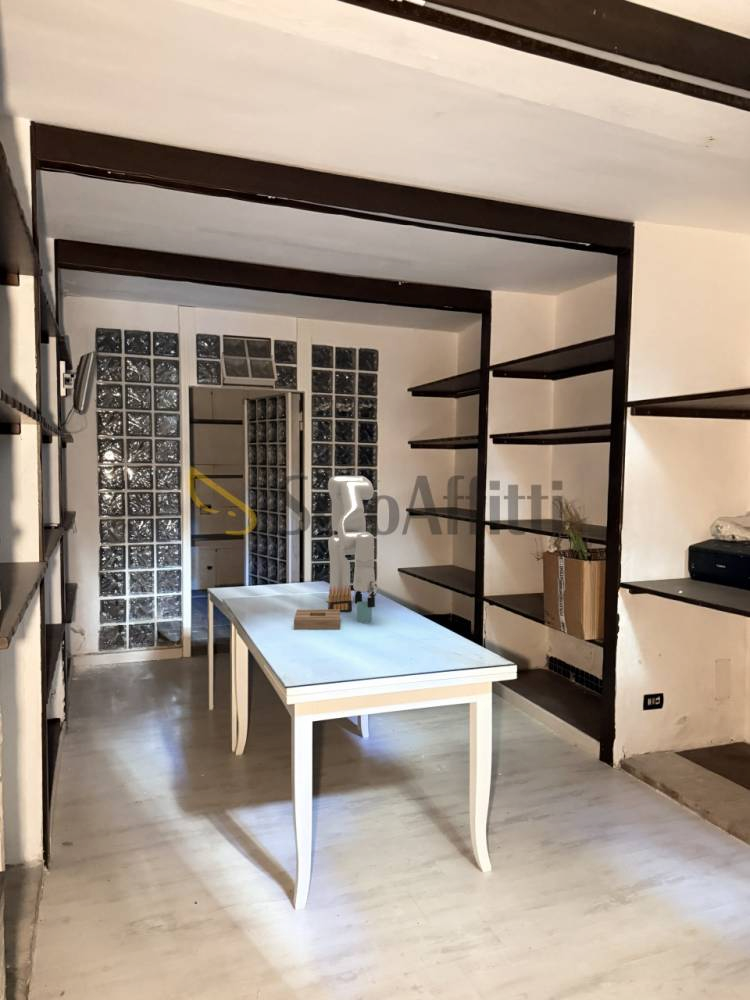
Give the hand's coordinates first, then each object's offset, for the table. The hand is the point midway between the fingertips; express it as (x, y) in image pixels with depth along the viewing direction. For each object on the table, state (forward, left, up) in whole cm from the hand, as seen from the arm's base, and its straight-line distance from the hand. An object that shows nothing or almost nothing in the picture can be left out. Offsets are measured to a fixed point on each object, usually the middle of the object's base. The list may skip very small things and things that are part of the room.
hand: (364, 605), depth 278 cm
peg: (-1, 0, -7) cm, 7 cm away
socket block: (+3, -19, -7) cm, 21 cm away
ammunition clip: (-18, -10, -7) cm, 21 cm away
